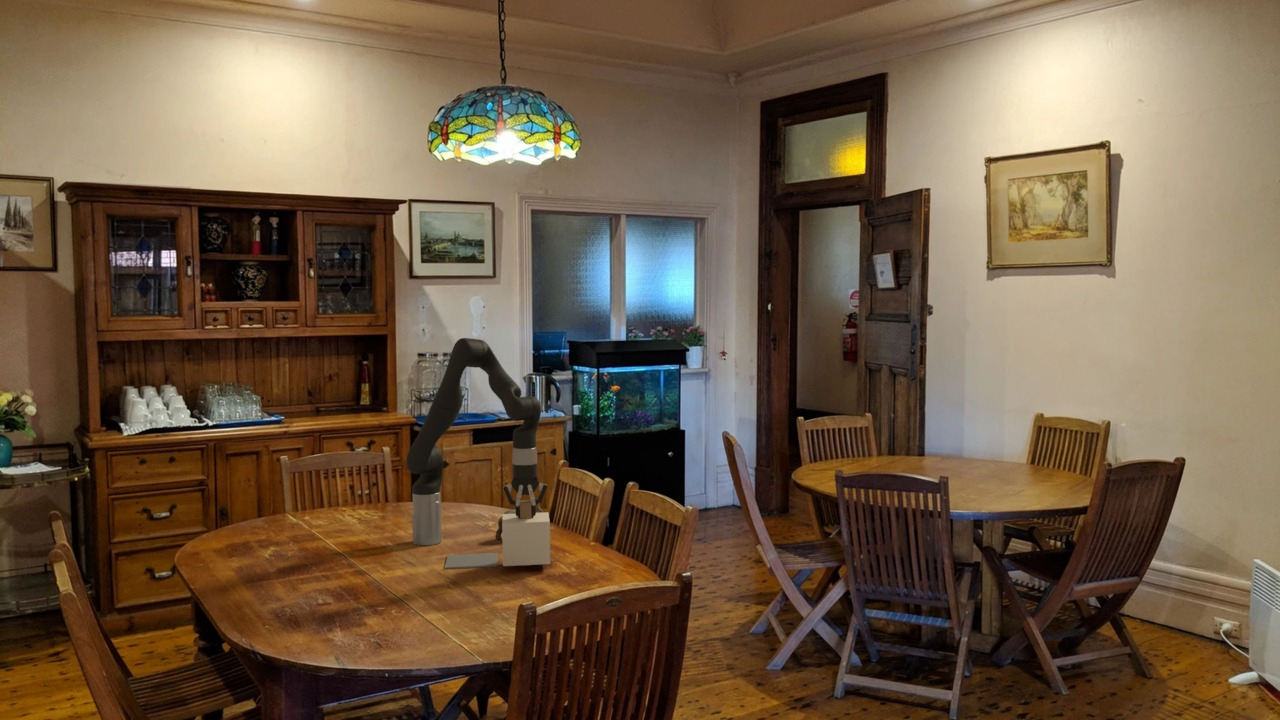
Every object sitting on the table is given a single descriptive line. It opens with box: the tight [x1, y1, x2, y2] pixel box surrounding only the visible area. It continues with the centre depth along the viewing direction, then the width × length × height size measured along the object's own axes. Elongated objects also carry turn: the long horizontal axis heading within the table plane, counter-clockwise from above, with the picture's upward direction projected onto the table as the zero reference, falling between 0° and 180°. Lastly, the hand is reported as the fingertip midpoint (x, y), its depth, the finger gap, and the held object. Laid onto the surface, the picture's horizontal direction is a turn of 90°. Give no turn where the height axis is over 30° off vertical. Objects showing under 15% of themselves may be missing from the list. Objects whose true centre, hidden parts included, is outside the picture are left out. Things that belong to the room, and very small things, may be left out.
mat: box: [444, 552, 499, 570], centre depth 298 cm, size 16×14×1 cm
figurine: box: [495, 503, 544, 540], centre depth 325 cm, size 10×14×15 cm, turn 88°
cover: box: [501, 499, 551, 567], centre depth 291 cm, size 14×12×18 cm
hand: (525, 517), depth 290 cm, fingers closed on cover, 3 cm apart
